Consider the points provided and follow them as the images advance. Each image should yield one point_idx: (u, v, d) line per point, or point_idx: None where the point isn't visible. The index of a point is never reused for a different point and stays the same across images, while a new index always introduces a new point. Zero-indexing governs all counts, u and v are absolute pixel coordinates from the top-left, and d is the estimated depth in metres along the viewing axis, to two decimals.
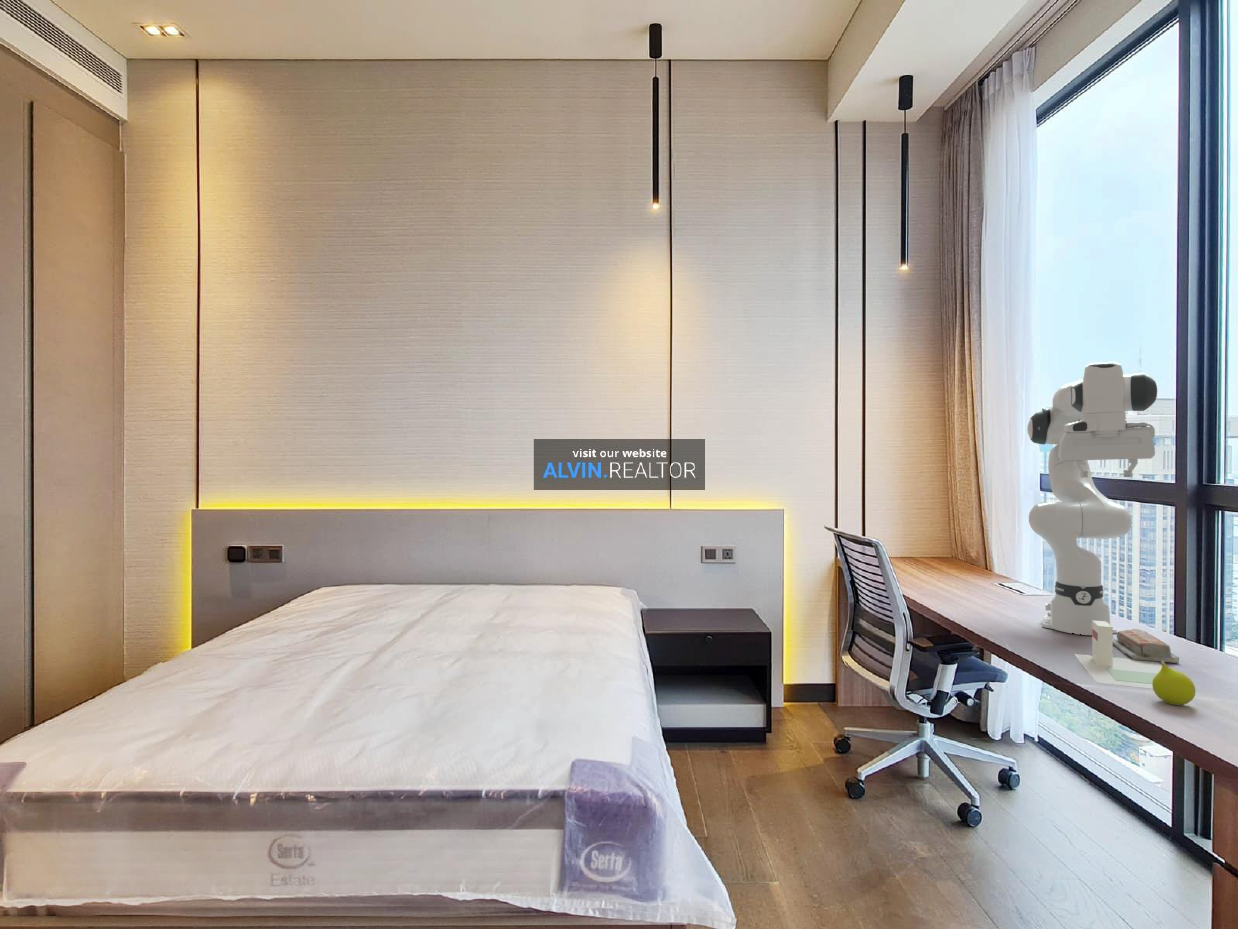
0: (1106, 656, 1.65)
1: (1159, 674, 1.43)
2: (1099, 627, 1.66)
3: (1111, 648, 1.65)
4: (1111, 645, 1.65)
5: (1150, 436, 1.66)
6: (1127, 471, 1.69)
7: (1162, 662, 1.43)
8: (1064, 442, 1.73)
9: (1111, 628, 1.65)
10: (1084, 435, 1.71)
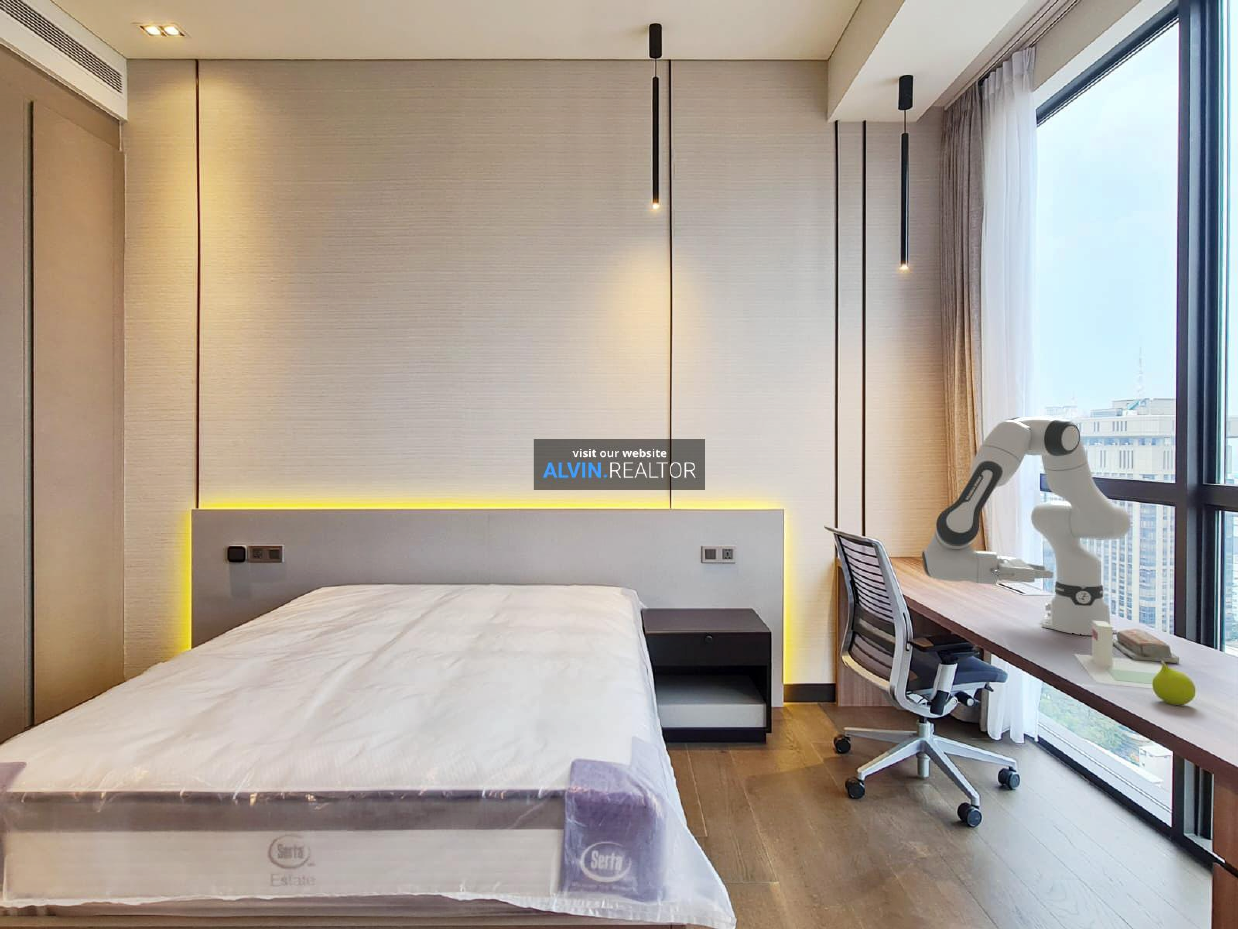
0: (1106, 656, 1.65)
1: (1159, 674, 1.43)
2: (1099, 627, 1.66)
3: (1111, 648, 1.65)
4: (1111, 645, 1.65)
5: (1009, 580, 1.68)
6: None
7: (1162, 662, 1.43)
8: None
9: (1111, 628, 1.65)
10: None
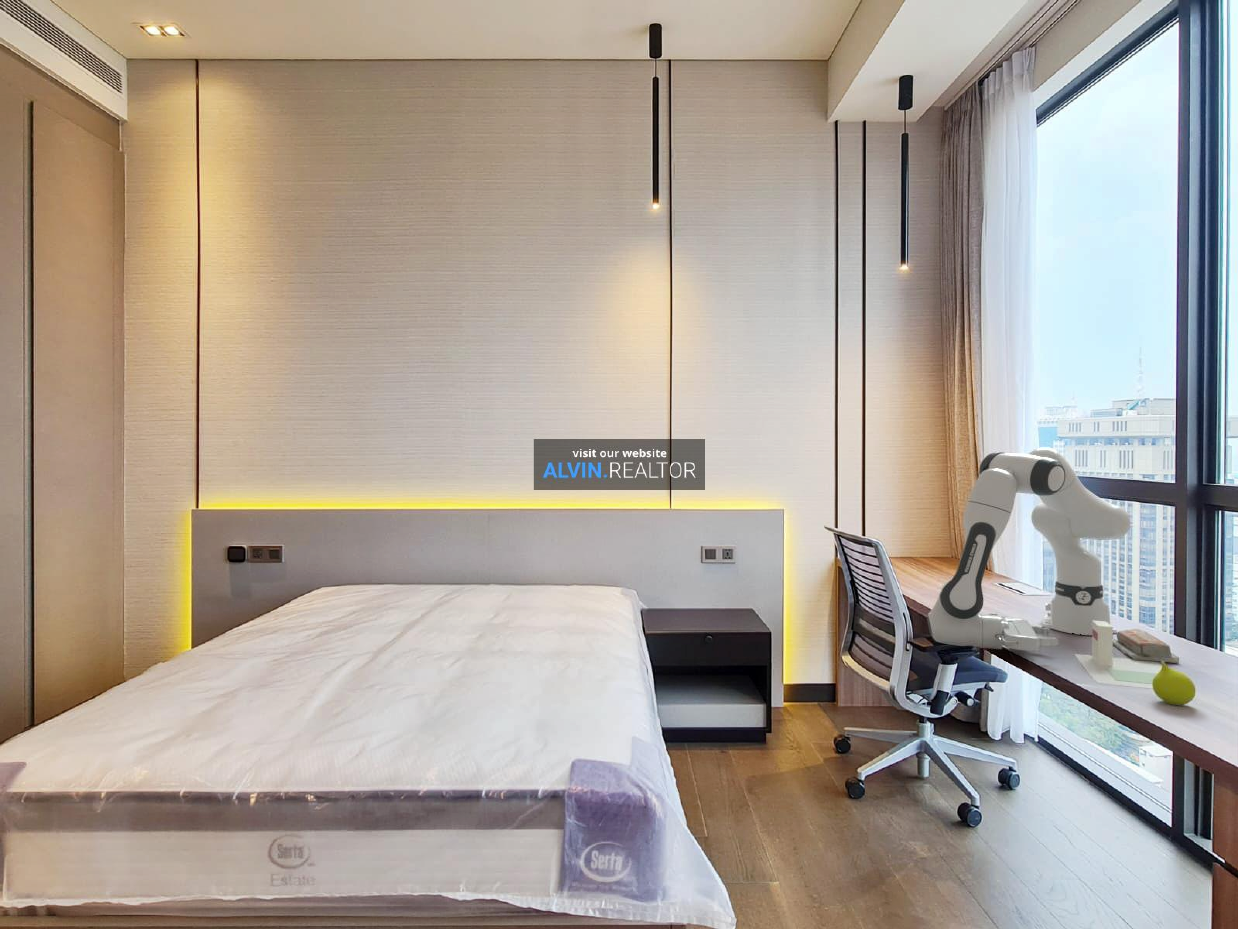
0: (1106, 656, 1.65)
1: (1159, 674, 1.43)
2: (1099, 627, 1.66)
3: (1111, 648, 1.65)
4: (1111, 645, 1.65)
5: None
6: None
7: (1162, 662, 1.43)
8: None
9: (1111, 628, 1.65)
10: None
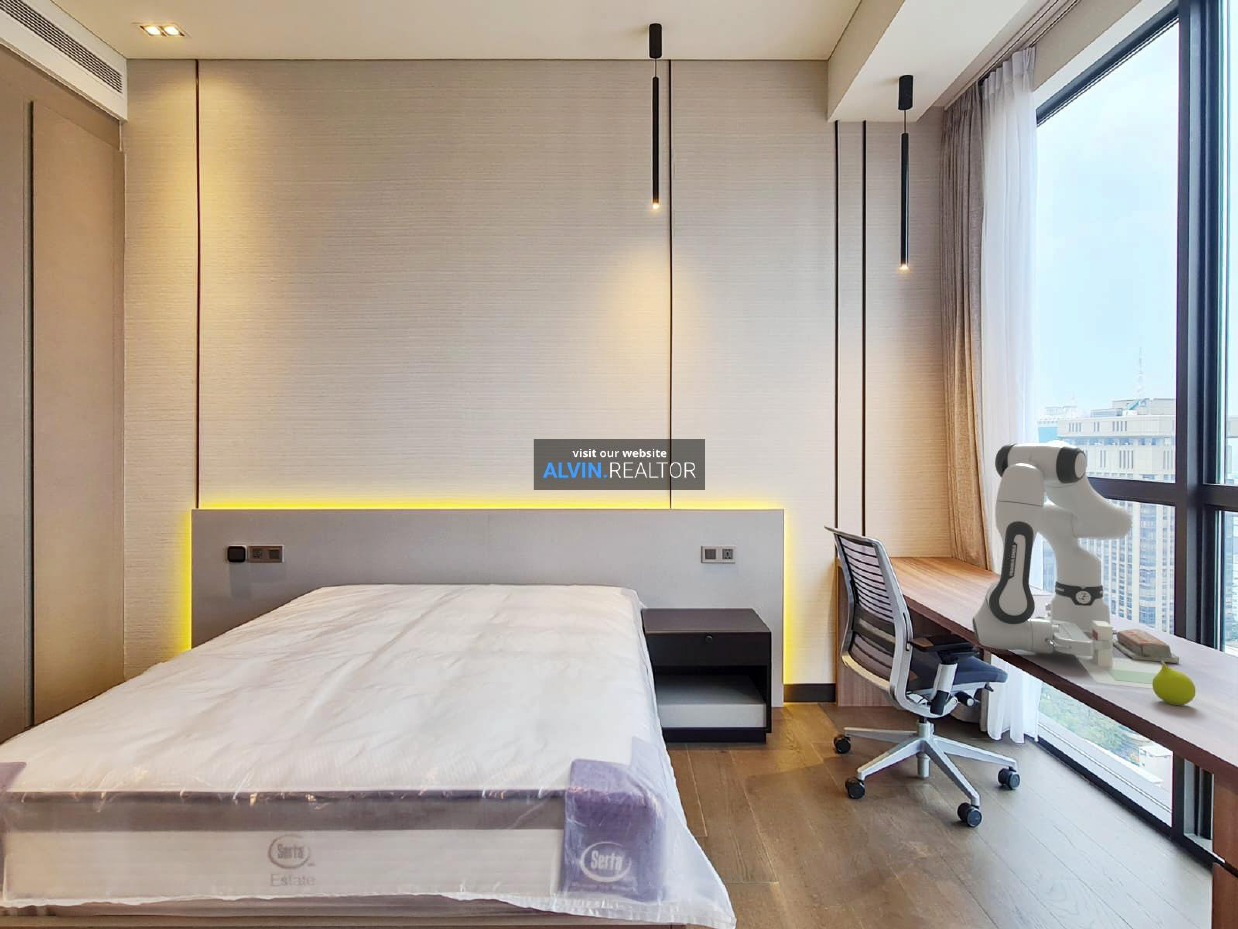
0: (1106, 656, 1.65)
1: (1159, 674, 1.43)
2: (1099, 627, 1.66)
3: (1111, 648, 1.65)
4: (1111, 645, 1.65)
5: (1066, 653, 1.64)
6: None
7: (1162, 662, 1.43)
8: None
9: (1111, 628, 1.65)
10: None
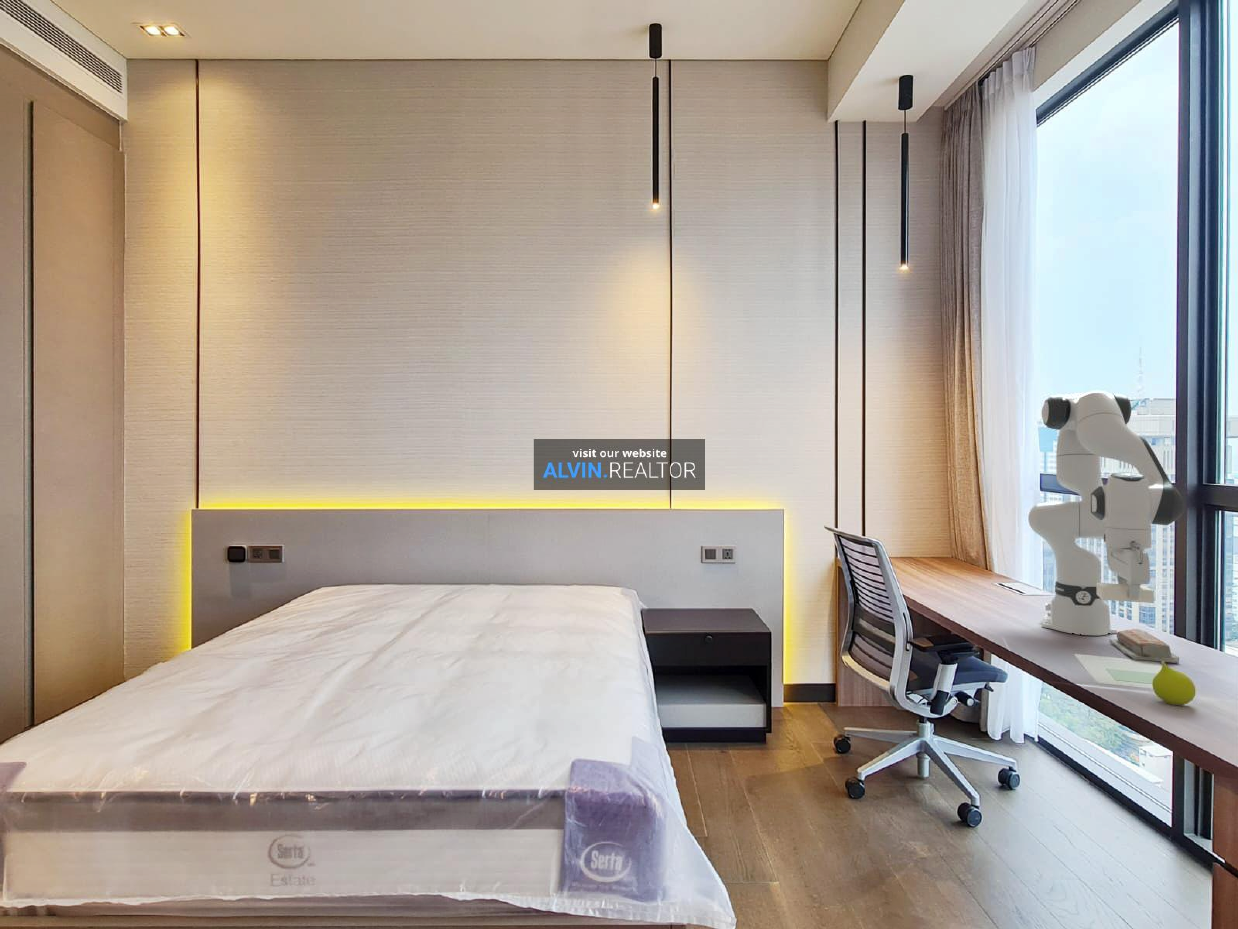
0: (1115, 595, 1.60)
1: (1159, 674, 1.43)
2: (1152, 591, 1.57)
3: (1125, 600, 1.59)
4: (1129, 600, 1.59)
5: (1130, 559, 1.53)
6: (1127, 592, 1.58)
7: (1162, 662, 1.43)
8: None
9: (1151, 602, 1.57)
10: (1109, 547, 1.66)
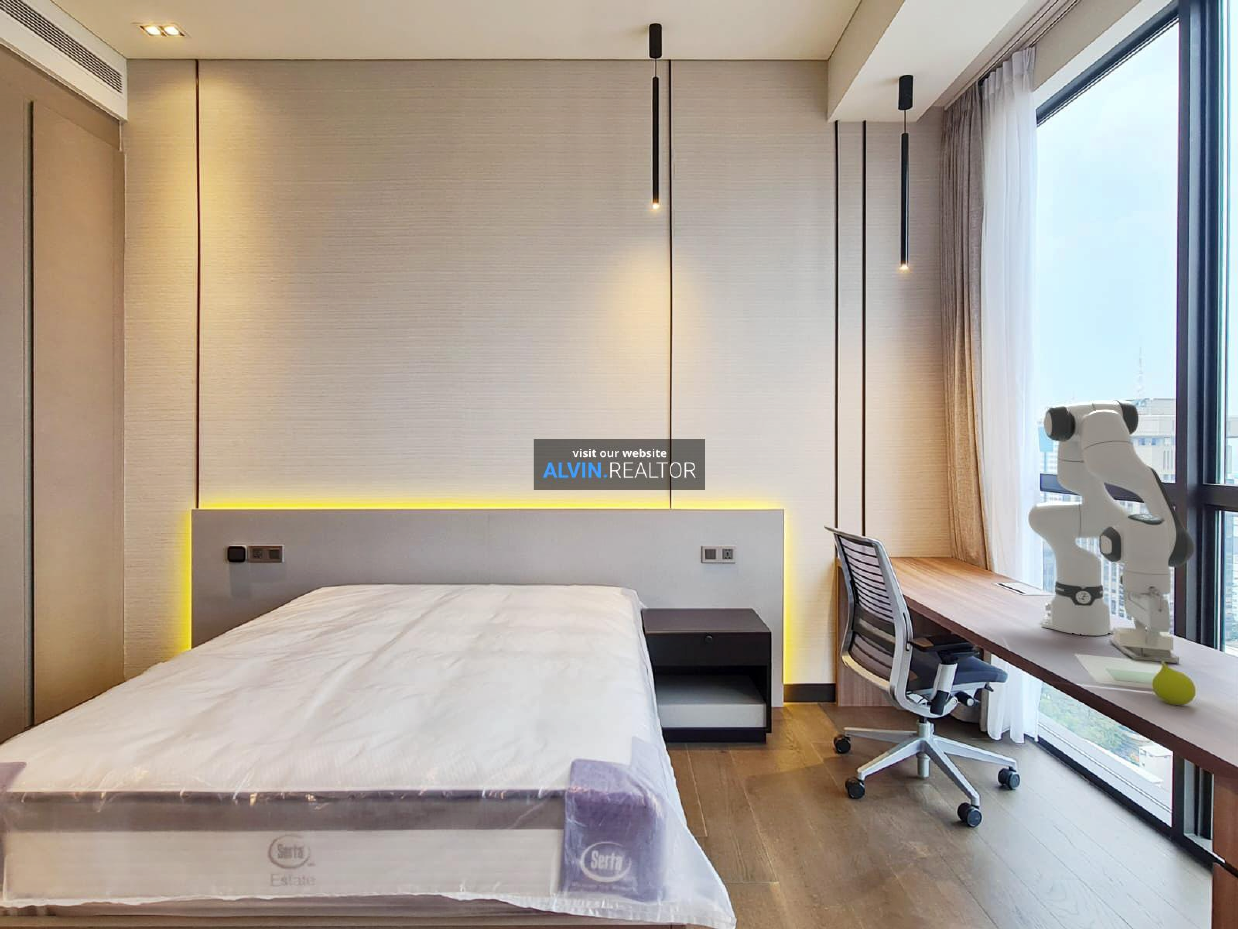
0: (1132, 641, 1.55)
1: (1159, 674, 1.43)
2: (1171, 638, 1.52)
3: (1144, 646, 1.54)
4: (1148, 647, 1.54)
5: (1149, 606, 1.49)
6: (1146, 639, 1.54)
7: (1162, 662, 1.43)
8: (1123, 594, 1.66)
9: (1171, 649, 1.52)
10: (1126, 590, 1.62)
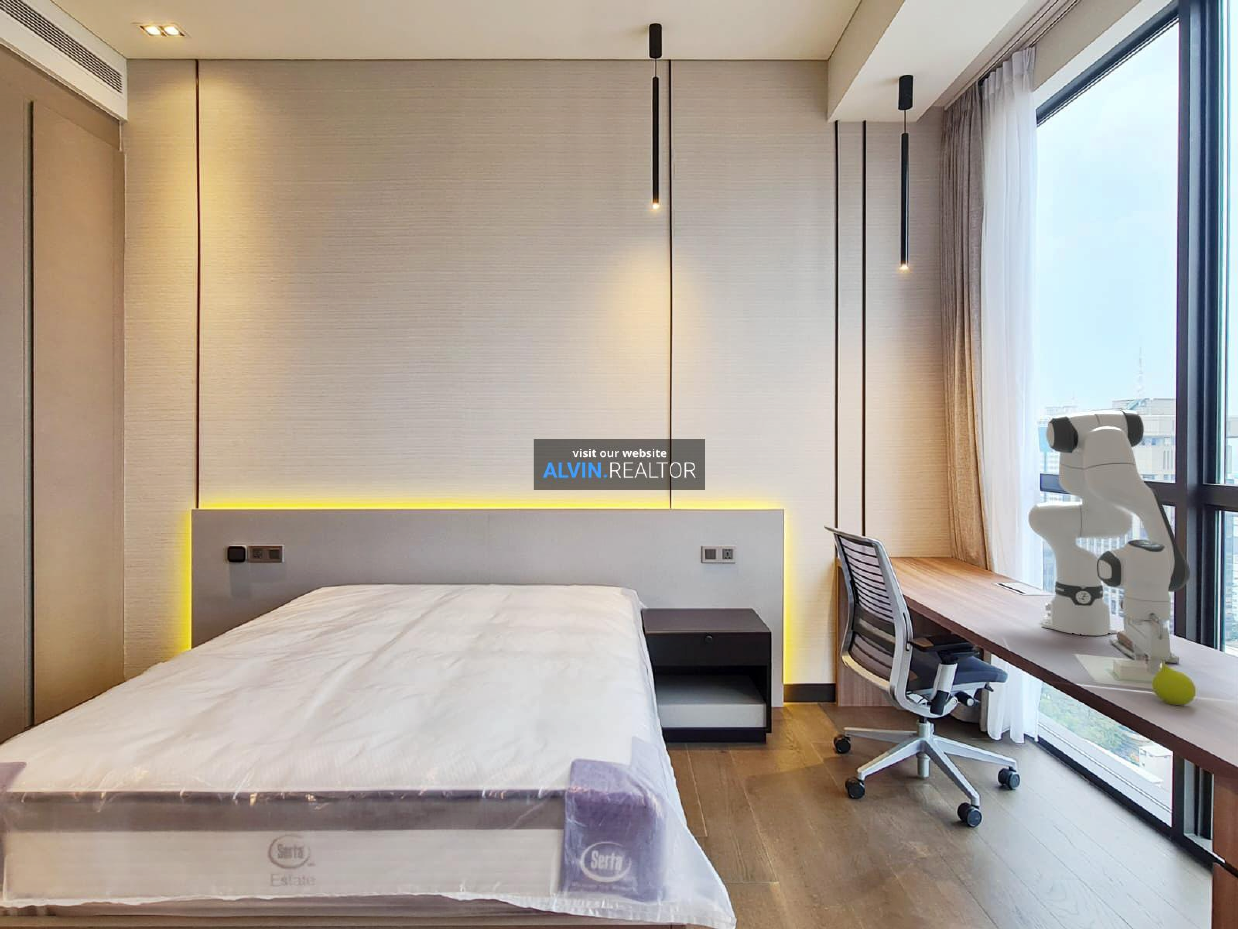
0: (1133, 674, 1.55)
1: (1159, 674, 1.43)
2: None
3: (1144, 679, 1.54)
4: (1148, 680, 1.54)
5: (1150, 633, 1.49)
6: (1147, 666, 1.53)
7: (1162, 662, 1.43)
8: (1123, 618, 1.66)
9: None
10: None
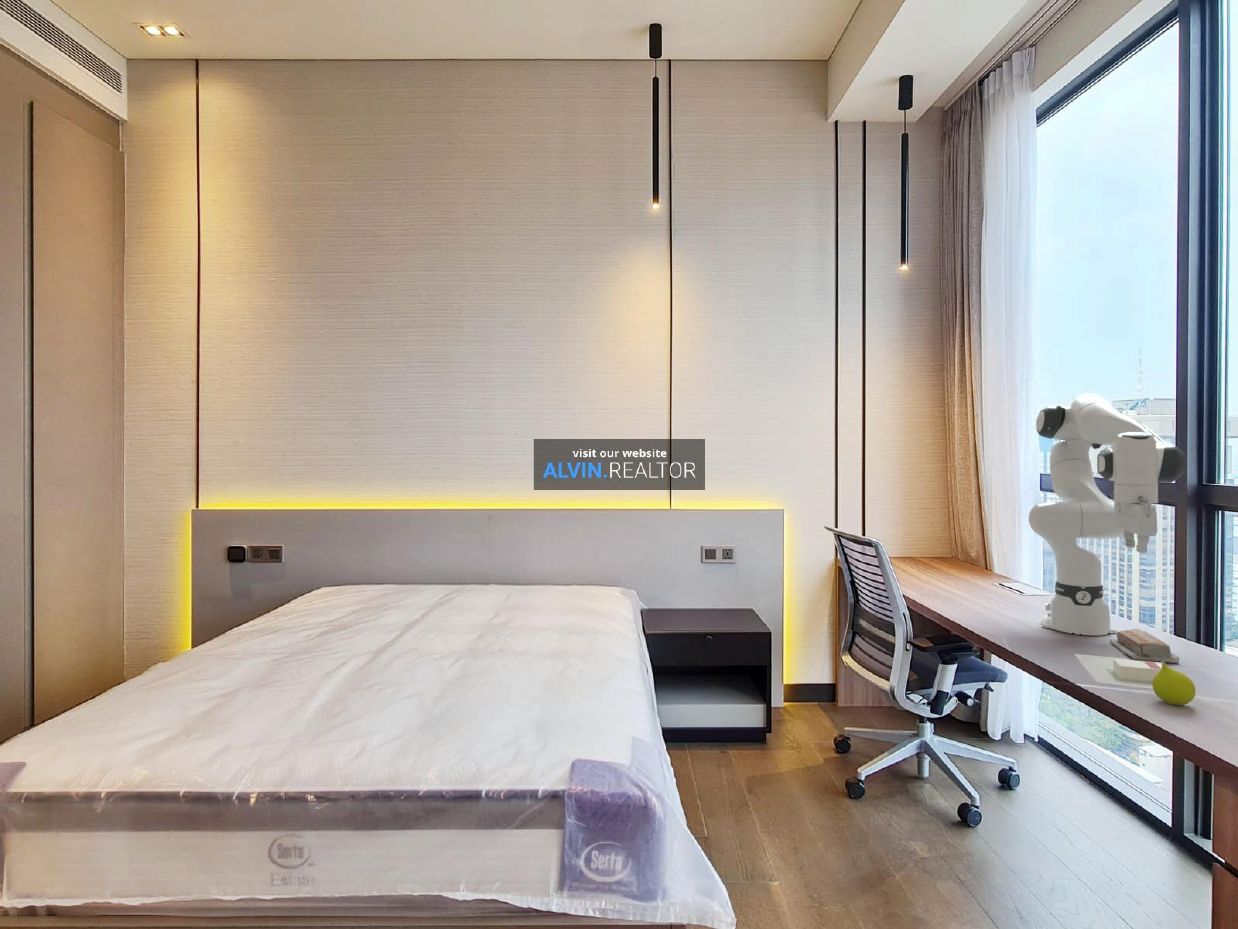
0: (1133, 674, 1.55)
1: (1159, 674, 1.42)
2: None
3: (1144, 679, 1.54)
4: (1148, 680, 1.54)
5: (1138, 512, 1.61)
6: (1136, 546, 1.65)
7: (1162, 662, 1.43)
8: (1114, 510, 1.77)
9: None
10: (1117, 504, 1.74)
